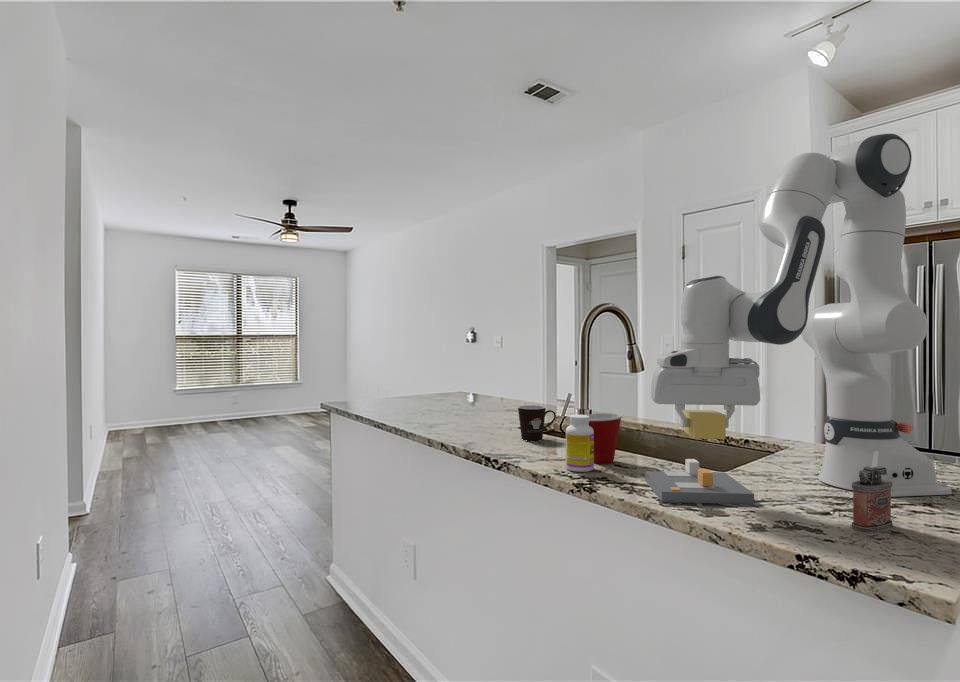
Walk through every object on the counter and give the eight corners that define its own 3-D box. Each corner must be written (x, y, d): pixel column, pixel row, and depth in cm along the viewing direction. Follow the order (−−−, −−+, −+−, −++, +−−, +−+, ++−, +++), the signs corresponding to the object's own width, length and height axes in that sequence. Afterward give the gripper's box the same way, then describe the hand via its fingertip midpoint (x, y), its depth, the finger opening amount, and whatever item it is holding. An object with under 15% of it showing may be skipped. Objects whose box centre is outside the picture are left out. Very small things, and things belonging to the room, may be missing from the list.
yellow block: (713, 432, 106) (713, 410, 106) (725, 438, 99) (725, 415, 99) (684, 431, 107) (684, 409, 107) (694, 438, 100) (694, 414, 100)
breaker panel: (724, 481, 113) (724, 471, 113) (754, 504, 98) (754, 492, 98) (644, 480, 115) (644, 470, 115) (661, 502, 100) (661, 490, 100)
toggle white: (694, 470, 113) (694, 459, 113) (699, 474, 110) (699, 462, 110) (685, 470, 113) (685, 458, 113) (689, 473, 110) (689, 462, 110)
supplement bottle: (594, 473, 121) (593, 418, 120) (565, 472, 122) (565, 417, 122) (593, 466, 127) (593, 414, 127) (566, 465, 128) (566, 413, 128)
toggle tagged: (708, 481, 105) (707, 469, 105) (713, 485, 102) (713, 473, 102) (697, 481, 105) (697, 468, 105) (702, 485, 102) (702, 472, 102)
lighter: (868, 534, 83) (868, 472, 83) (846, 527, 86) (846, 467, 86) (898, 527, 86) (898, 467, 86) (875, 520, 89) (875, 462, 89)
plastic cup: (584, 454, 139) (584, 410, 139) (626, 458, 134) (625, 412, 134) (574, 464, 129) (574, 416, 129) (618, 468, 125) (618, 419, 124)
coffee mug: (516, 441, 156) (516, 408, 156) (519, 436, 165) (519, 405, 165) (555, 442, 155) (555, 409, 154) (556, 437, 163) (555, 405, 163)
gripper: (752, 357, 105) (752, 425, 105) (649, 357, 107) (648, 423, 107) (766, 358, 99) (766, 431, 99) (656, 358, 101) (656, 429, 101)
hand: (704, 427), depth 103 cm, fingers closed on yellow block, 6 cm apart
